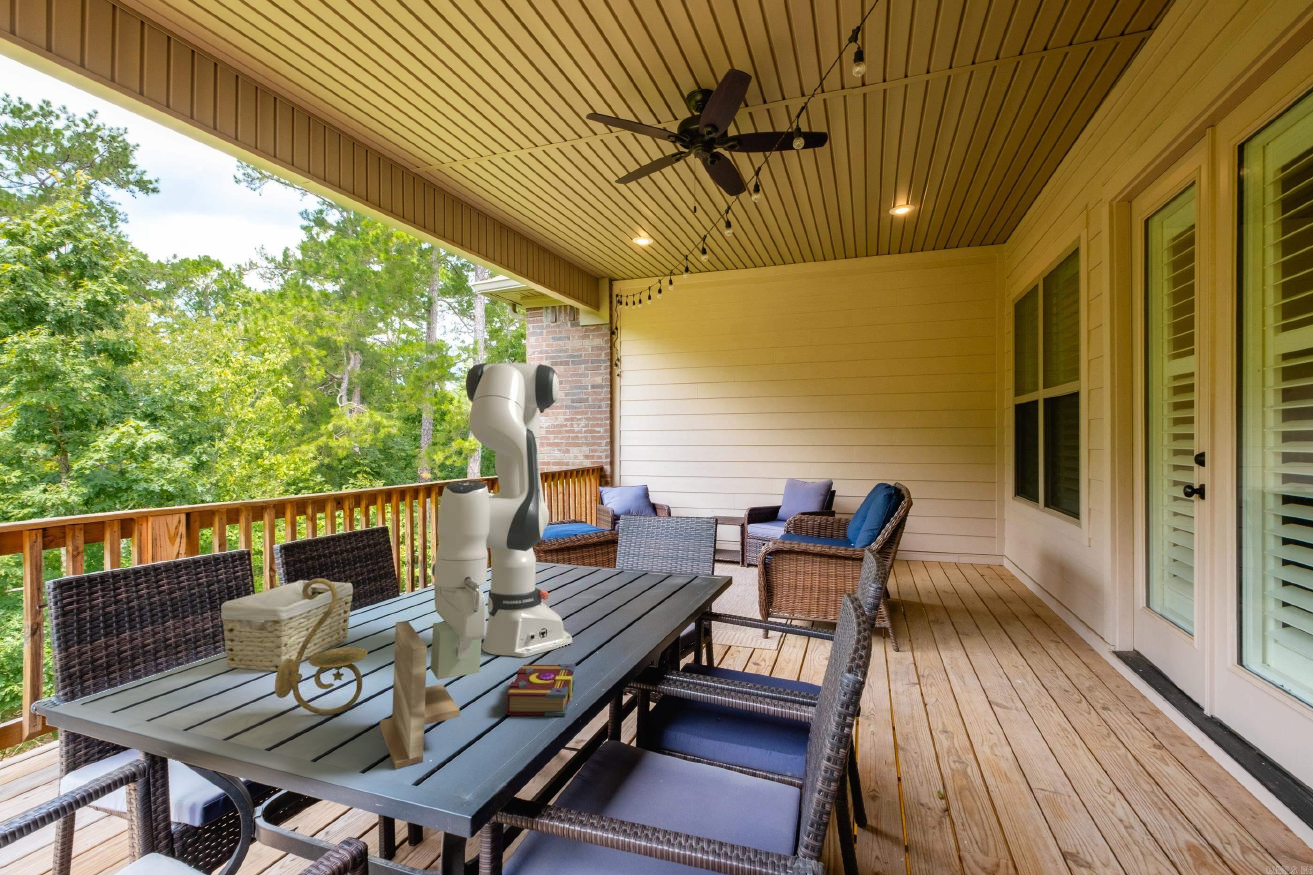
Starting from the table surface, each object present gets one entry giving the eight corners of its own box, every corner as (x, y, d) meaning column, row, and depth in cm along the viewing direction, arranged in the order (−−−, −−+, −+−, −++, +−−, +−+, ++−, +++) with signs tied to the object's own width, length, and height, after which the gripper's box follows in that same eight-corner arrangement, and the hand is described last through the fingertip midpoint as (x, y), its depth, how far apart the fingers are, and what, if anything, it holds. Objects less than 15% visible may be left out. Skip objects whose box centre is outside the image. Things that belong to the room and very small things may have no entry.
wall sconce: (268, 728, 97) (274, 584, 98) (296, 704, 107) (301, 573, 108) (353, 725, 99) (358, 583, 100) (373, 701, 109) (377, 572, 109)
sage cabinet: (475, 661, 104) (479, 607, 104) (484, 671, 99) (488, 614, 99) (430, 668, 99) (434, 611, 100) (437, 679, 95) (441, 619, 95)
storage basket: (279, 676, 120) (282, 606, 121) (213, 670, 123) (216, 602, 123) (354, 639, 144) (356, 582, 144) (298, 635, 146) (300, 578, 147)
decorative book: (504, 717, 104) (505, 690, 104) (523, 682, 120) (524, 658, 120) (565, 718, 104) (566, 691, 104) (576, 683, 120) (576, 659, 120)
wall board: (438, 712, 105) (441, 615, 105) (461, 751, 92) (465, 640, 92) (379, 725, 99) (383, 623, 100) (395, 769, 86) (399, 651, 87)
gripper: (497, 583, 93) (492, 667, 92) (463, 561, 110) (459, 632, 109) (458, 586, 89) (453, 674, 89) (429, 563, 106) (425, 637, 106)
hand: (456, 651), depth 99 cm, fingers closed on sage cabinet, 5 cm apart
